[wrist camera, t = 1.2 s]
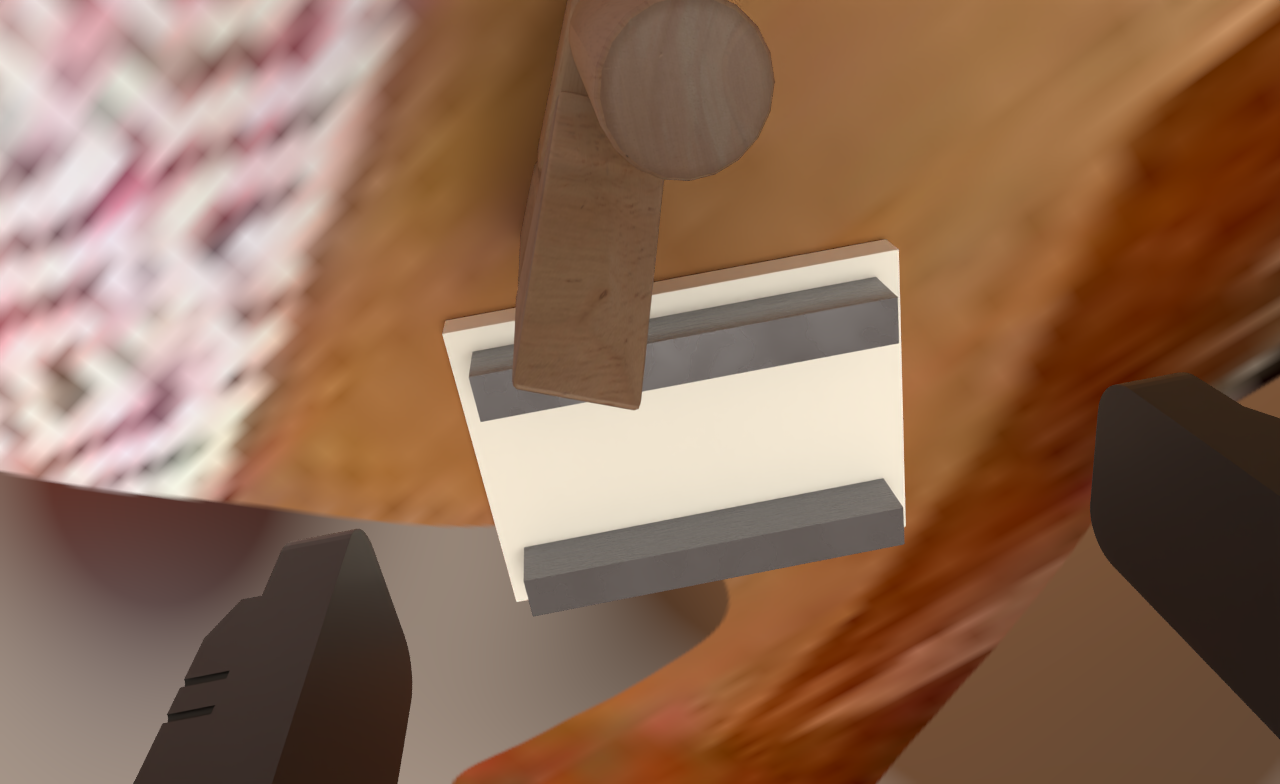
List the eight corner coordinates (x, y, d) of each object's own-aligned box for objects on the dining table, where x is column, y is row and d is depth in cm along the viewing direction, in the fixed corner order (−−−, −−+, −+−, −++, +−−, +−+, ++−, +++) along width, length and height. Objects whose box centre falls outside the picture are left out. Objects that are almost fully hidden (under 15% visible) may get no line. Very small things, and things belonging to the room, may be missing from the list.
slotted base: (445, 320, 37) (436, 358, 34) (885, 239, 38) (922, 268, 34) (517, 582, 44) (515, 637, 40) (894, 509, 44) (926, 557, 41)
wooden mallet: (518, 241, 36) (506, 464, 20) (574, -43, 32) (616, -46, 16) (605, 259, 37) (661, 489, 21) (672, -16, 33) (806, 8, 17)
